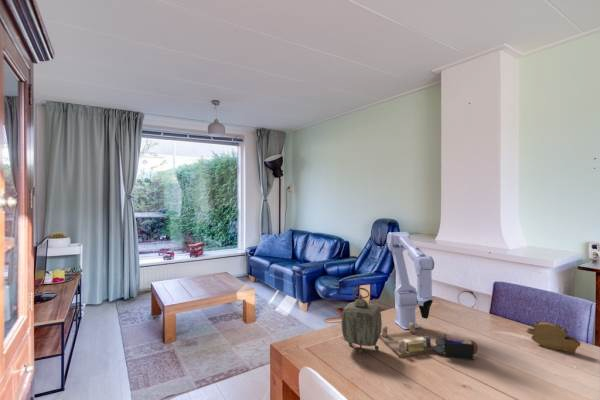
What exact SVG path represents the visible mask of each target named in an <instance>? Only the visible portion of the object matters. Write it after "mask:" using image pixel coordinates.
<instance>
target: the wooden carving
mask: <svg viewBox="0 0 600 400" xmlns="http://www.w3.org/2000/svg"><path fill="white" fill-rule="evenodd" d="M532 327H533V328H527V330H525V332H526V333H527V334H530V335H531V337H530V338H531V340H533V342H535V343H537V344H538V345H540V346H542V347H544V348H547V349H549V350H554V351H566V352H569V353H571V354H572V353H573V354H575V353H576V351H577V350H578V347H580V346H581V341H579V340H578V339H577V338H574V337H571V336H567V335H568V330H567V329H566V327H561V326H560V325H558V324H555V323H552V322H547V321H541V322H539V321H535V322H534V324H533V326H532Z"/></svg>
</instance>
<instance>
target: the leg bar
mask: <svg viewBox="0 0 600 400" xmlns="http://www.w3.org/2000/svg"><path fill="white" fill-rule="evenodd" d="M403 341H405V350H407V343H410V342H417V341H422V342H423V346H424V347H430V346H431V343H432V342H431V341H432V340H431V336H429V335H422V337H418V338H411V339H405V340H403Z"/></svg>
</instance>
